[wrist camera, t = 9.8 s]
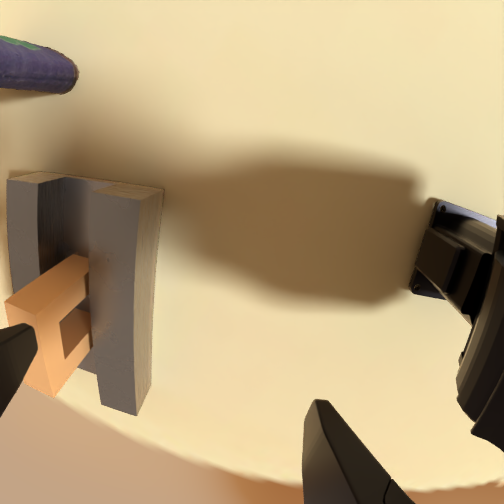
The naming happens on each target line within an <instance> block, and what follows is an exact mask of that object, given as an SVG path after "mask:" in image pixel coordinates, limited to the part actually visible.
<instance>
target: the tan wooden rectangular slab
mask: <svg viewBox="0 0 504 504" xmlns="http://www.w3.org/2000/svg"><path fill="white" fill-rule="evenodd" d="M88 294H89V258H86V257H82V256H78V255H75V254H72V255H71V256H69V257H68V258H66V259H65V260H63V261H62V262H60V263H59V264H57V265H56V266H54V267H53V268H51V269H50V270H48V271H47V272H45V273H44V274H42V275H41V276H39V277H38V278H36V279H35V280H33V281H32V282H31V283H29V284H28V285H26V286H25V287H24V288H22V289H21V290H19V291H18V292H17V293H15V294H14V295H12V296H11V297H10V298H8V299H7V300H6V301H4V303H5V308H6V314H7V319H8V323H9V327H10V326H14V325H17V324H20V323H26V324H29V325H31V326H33V327H34V329H35V334H36V339H37V344H38V351H37V354H36V356H35V357H34V359H33V361H32V363H31V365H30V367H29V369H28V371H27V373H26V375H25V377H24V379H23V380H24V383H25V384H27V385H28V386H31V387H32V388H34V389H36V390H38V391H40V392H42V393H44V394H46V395H48V396H51V397H53V398H54V397H55V396H56V395H57V393H58V392H59V391H60V389H61V388H62V386H63V385H64V384H65V382H66V381H67V380H68V378H69V377H70V376H71V374H72V373H73V372H74V370H75V369H76V368H77V367H78V365H79V364H80V363H81V361H82V360H83V359H84V357H85V356H86V355H87V354H88V352H89V351H90V350H91V348H92V347H93V339H92V328H91V314H90V313H89V312H86V311H83V310H80V309H77V308H75V307H76V306H77V305H78V304H79V303H80V302H81V301H82V300H83V299H84V298H85V297H86V296H87V295H88ZM74 308H75V309H74ZM72 309H74V310H73V311H72V312H71V313H70V314H69V315H68V316H67V317H66V318H65V319H64V320H62V319H63V318H64V317H65V316H66V315H67V314H68V313H69V312H70V311H71V310H72ZM61 320H62V321H61ZM60 321H61V322H60ZM59 322H60V323H59Z"/></svg>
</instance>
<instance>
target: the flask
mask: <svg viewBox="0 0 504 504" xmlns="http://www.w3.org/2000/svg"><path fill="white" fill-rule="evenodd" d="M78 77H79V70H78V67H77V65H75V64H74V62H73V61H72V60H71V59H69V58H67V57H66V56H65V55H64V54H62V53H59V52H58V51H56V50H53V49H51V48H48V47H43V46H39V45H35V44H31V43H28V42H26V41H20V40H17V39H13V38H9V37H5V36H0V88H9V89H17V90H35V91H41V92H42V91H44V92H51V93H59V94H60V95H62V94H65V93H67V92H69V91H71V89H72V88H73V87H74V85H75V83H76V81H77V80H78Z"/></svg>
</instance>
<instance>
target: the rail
mask: <svg viewBox="0 0 504 504" xmlns="http://www.w3.org/2000/svg"><path fill="white" fill-rule="evenodd" d="M163 196H164V189H159V188H153V187H147V186H141V185H134V184H128V183H122V182H115V181H108V180H102V179H95V178H88V177H80V176H73V175H66V174H58V173H50V172H42V171H41V172H36V173H32V174H27V175H23V176H18V177H14V178H10V179H7V232H8V247H9V259H10V268H11V277H12V284H13V291H14V294H15V293H17V292H18V291H19V290H21V289H22V288H24V287H25V286H26V285H28V284H29V283H31V282H32V281H33V280H35V279H36V278H38V277H39V276H41V275H42V274H44V273H45V272H47V271H48V270H50V269H51V268H53V267H54V266H56V265H57V264H59V263H60V262H62V261H63V260H65V259H66V258H68V257H69V256H71V255H72V254H75V255H78V256H82V257H86V258H89V294H88V295H87V296H86V297H85V298H84V299H83V300H82V301H81V302H80V303H79V304H78V305H77V306H76V307H75V308H77V309H80V310H83V311H86V312H89V313H90V314H91V328H92V339H93V347H92V348H91V350H90V351H89V352H88V354H87V355H86V356H85V357H84V359H83V360H82V361H81V363H80V364H79V365H78V368H80V369H83V370H86V371H88V372H91V373H94V374H97V381H98V387H99V394H100V400H101V404H102V405H104V406H107V407H110V408H113V409H116V410H119V411H122V412H125V413H128V414H131V415H134V416H137V415H138V413H139V410H140V408H141V406H142V404H143V402H144V399H145V397H146V395H147V393H148V391H149V389H150V386H151V353H152V322H153V302H154V286H155V273H156V261H157V250H158V239H159V230H160V221H161V212H162V204H163ZM75 308H74V309H75ZM74 309H72V310H71V311H70V312H69V313H68V314H67V315H66V316H65V317H64V318H63V319H62V320H64V319H65V318H66V317H67V316H68V315H69V314H70V313H71V312H72V311H73V310H74ZM62 320H61V321H62ZM61 321H60V322H61ZM60 322H59V323H60Z"/></svg>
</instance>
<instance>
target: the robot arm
mask: <svg viewBox="0 0 504 504" xmlns="http://www.w3.org/2000/svg"><path fill="white" fill-rule="evenodd" d="M442 205H443V210H442V211H440V207H441V206H442ZM496 227H497V229H496ZM415 266H416V267H415V270H414V272H413V275H412V278H411V281H410V283H409V289H410V291H411V292H412V293H413V294H417V295H422V296H427V297H433V298H438V299H443V300H447V301H448V302H449V303H450V304H451V305H452V306H453V307H454V308H455V309H456V310H457V311H458V312H459V313H460V314H461V315H462V316H463V317H464V318H465V320H466V321H467V322H468V323H469V324H470V325H471V326H472V329H471V332H470V335H469V338H468V340H467V343H466V346H465V348H464V351H463V352H461V355H460V357H459V360H458V361H459V366H460V367H459V370H458V374H457V377H456V383H457V390H458V393H459V394H458V396H457V401H458V403H459V405H460V406H461V408H462V410H463V411H464V412H465V414H466V415H467V416H468V417H469V418H470V419H471V420H472V421H473V422H475V424H474V426H473V428H472V429H471V434H472V435H474V436H477V437H480V438H482V439H485V440H487V441H489V442H491V443H492V444H494V445H495V446H497V447H498V448H500V449H501V450H502V451H503V452H504V216H503V215H497V220H493V219H491V218H488V217H486V216H483V215H481V214H478V213H476V212H473V211H470V210H468V209H465V208H462V207H460V206H457V205H454V204H451V203H449V202H446V201H443V200H439V201H437V202H436V203H435V206H434V209H433V213H432V216H431V220H430V223H429V227H428V229H427V230H426V232H425V235H424V238H423V241H422V244H421V247H420V251H419V254H418V257H417V259H416V262H415ZM417 284H418V287H417V288H414V287H415V285H417ZM37 351H38V344H37V339H36V334H35V329H34V327H33V326H31V325H29V324H26V323H20V324H17V325H14V326H10V327H7V328H4V329H0V417H1V416H2V414H3V412H4V411H5V409H6V407H7V406H8V404H9V402H10V401H11V399H12V397H13V396H14V394H15V393H16V391H17V390H18V388H19V386H20V384H21V382H22V381H23V379H24V377H25V375H26V373H27V371H28V369H29V367H30V365H31V363H32V361H33V359H34V357H35V356H36V354H37ZM302 478H303V492H304V504H415V503H414V502H413V501H412V500H411V499H410V498H409V497H408V496H407V494H406V493H405V492H404V491H403V490H402V489H401V488H400V487H399V486H398V484H397V483H396V482H395V481H394V480H393V479H391V476H390V475H389V474H388V473H387V472H386V470H385V469H384V468H383V467H382V466H381V464H380V463H379V462H378V461H377V460H376V458H375V457H374V456H373V455H372V454H371V452H370V451H369V450H368V449H367V448H366V446H365V445H364V444H363V443H362V442H361V440H360V439H359V438H358V437H357V435H356V434H355V433H354V432H353V431H352V429H351V428H350V427H349V426H348V424H347V423H346V422H345V421H344V419H343V418H342V417H341V416H340V415H339V413H338V412H337V411H336V410H335V408H334V407H333V406H332V405H331V403H330V402H329V401H328V400H321V399H315V400H314V401H313V402H312V404H311V406H310V408H309V410H308V413H307V415H306V417H305V421H304V436H303V453H302Z"/></svg>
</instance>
